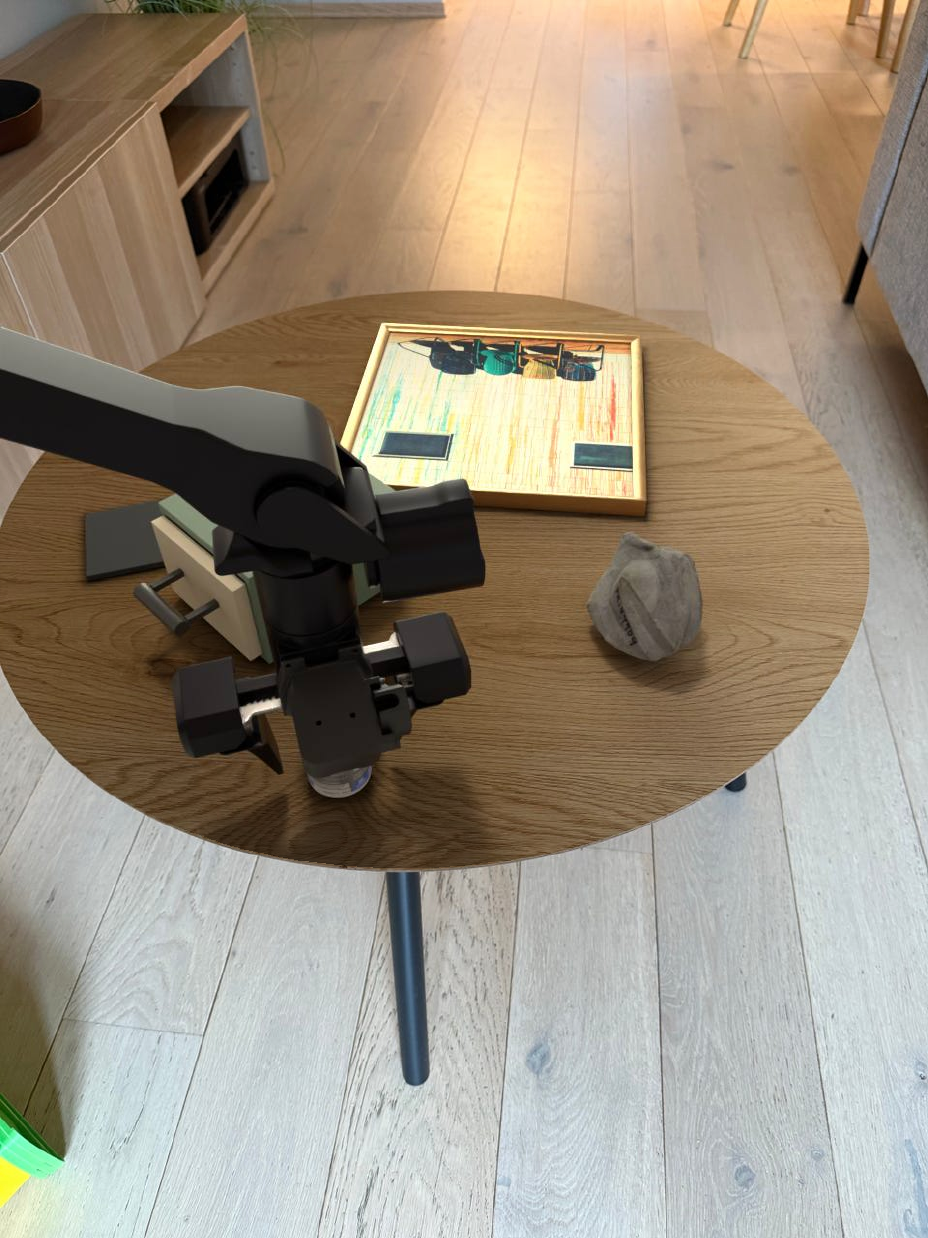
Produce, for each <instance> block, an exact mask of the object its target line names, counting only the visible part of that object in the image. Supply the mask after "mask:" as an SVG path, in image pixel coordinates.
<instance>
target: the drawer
mask: <svg viewBox="0 0 928 1238" xmlns="http://www.w3.org/2000/svg"><path fill="white" fill-rule="evenodd" d="M151 524H152V527H153V530H154V533H155V536H156V539H157V542H158V545H159V548H160V551H161V554H162V557H163V560H164V563H165V566H164V567H165V569H166V573H167V574H166V575H165V576H162V577H160V578H159V579H157V580H155V581H153V582H152V583H150V584H148V583H147V582H141V583H138V584H137V585H136V586H135V587H134V588H133V591H132V595H133V596H134V598H136V599H137V601H139V602H140V603H141V604H142V606H144V607H145V608H146V609H147V610H148V611H149V612H150V613H151V614H152V615H153V616H154V617H155V618H157V619H158V621H159V622H161V623H162V624H163V625H164V626H165V627H166V628H167V629H168V630H169V631H170V632H171V633H172V634H173V635H174V636H175V637H183V636H185V635H187V634H188V632H189V631H190V630H191V625H192V624H195V623H196V622H198V621H199V620H201V619H204V620H205V621H206V622H207V623H208V624H209V625H210V626H211V627H212V628H213V629H215V630H216V631H217V632H218V634H220V635H221V636H223V638H225V639H226V641H228V642H229V643H230V644H231V645H232V646H234V647H235V649H237V651H239V652H240V653H241V654H242V655H243V656H245V658H246V659H248V660H249V661H250V662H252V661H253V660H255V659H256V658H258V657H259V656H260V655H261V654H262V649H261V645H260V641H259V637H258V633H257V629H256V624H255V620H254V616H253V612H252V608H251V604H250V600H249V596H248V592H247V588H246V584H245V581H244V580H243V579H242V578H241V577H239V576H238V575H237V574H232V575H226V576H219V575H217V574H216V573H215V571H214V557H213V554H212V553H211V552H210V551H208V550H207V549H206V548H205V547H204V546H202V545H201V544H200V543H199V542H198V541H196V540H195V539H194V538H193V537H192V536H190V535H189V536H190V537H189V536H188V535H187V534H185V533H184V532H183V531H182V530H181V529H179V528H178V527H177V526H176V525H175V524H174V523H172V522H171V521H170V520H169V519H168V518H166V517H165V516H164V515H163V516H161V517H159V518H157V519H155V520H153V521H151ZM170 585H171V588H172V591H173V592H174V593H175V594H176V595H177V596H178V597H179V598H181V599H182V601H184V602H185V603H186V604H187V605H188V606H189V607H190V608H191V609H192V611H191V612H189V613H187V614H186V615H184V616H183V615H182V614H180V613H179V612H178V610H176V608H174V607H173V606H172V605H171V604H170V603H169V602H168V601H167V600H165V598H163V597H162V596H161V595H160V594H159V593H158V592H159V591H162V590H163V589H164V588H165V589H166V588H167V587H168V586H170Z"/></svg>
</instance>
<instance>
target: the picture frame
mask: <svg viewBox="0 0 928 1238" xmlns="http://www.w3.org/2000/svg"><path fill="white" fill-rule="evenodd" d="M642 339H643V338H642V335H641V334H623V333H622V334H621V333H600V332H581V331H580V332H579V331H558V330H539V329H538V330H537V329H515V328H498V327H497V328H496V327H495V328H494V327H477V326H476V327H475V326H472V327H471V326H451V325H433V324H431V325H429V324H413V323H412V324H411V323H391V322H389V323H388V322H381V324H380V327H379V330H378V333H377V337H376V339H375V342H374V345H373V348H372V351H371V353H370V356H369V359H368V361H367V365H366V368H365V371H364V374H363V376H362V379H361V383H360V385H359V389H358V391H357V395H356V396H355V400H354V403H353V406H352V408H351V411H350V414H349V417H348V420H347V422H346V426H345V429H344V431H343V435H342V437H341V440H340V442H339V443H340V444H341V445H342V446H343V447H344V448H345V449H347V450H348V451H349V452H350V453H351V454H353V455H354V456H355V457H356V458H357V459H358V460H360V461H361V462H362V463H363V464H364V465H366V466H367V469H368V473H370V474H371V475H373V476H374V477H376V478H377V479H379V480H380V481H382V482H383V483H385V484H386V485H388V486H389V487H391V488H392V489H394V490H395V491H401V490H408V489H414V488H421V487H427V486H432V485H435V484H438V483H441V482H444V481H449V480H455V479H462V478H463V479H465V480H466V481H467V483H468V486H469V488H470V491H471V494H472V496H473V499H474V507H475V506H476V507H491V508H505V509H522V510H536V511H537V510H539V511H553V512H568V513H584V514H601V515H617V516H630V517H631V516H633V517H645V514H646V507H647V503H648V502H647V501H648V499H647V472H646V471H647V468H646V467H647V466H646V441H645V440H646V439H645V437H646V436H645V433H646V432H645V408H644V407H645V403H644V401H645V400H644V375H643V371H644V370H643V343H642Z"/></svg>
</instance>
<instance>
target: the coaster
mask: <svg viewBox="0 0 928 1238" xmlns="http://www.w3.org/2000/svg"><path fill="white" fill-rule="evenodd" d="M162 500H163V499H159V500H153V501H148V502H143V503H138V504H133V505H127V506H121V507H117V508H111V509H106V510H100V511H93V512H89V513H88V512H87V513H85V514H84V527H85V528H84V529H85V530H84V531H85V532H84V534H85V571H86V572H85V576H86V579H87V581H88V582H90V581H95V580H100V579H107V578H111V577H115V576H116V577H117V576H120V575H121V576H122V575H126V574H127V575H128V574H131V573H136V572H142V571H147V570H152V569H156V568H162V567H166V566H165V563H164V560H163V557H162V554H161V551H160V548H159V545H158V542H157V539H156V536H155V533H154V530H153V527H152V524H151V521H153V520H155V519H157V518H159V517H161V516H162V515H161V512H160V508H159V505H158V502H160V501H162Z"/></svg>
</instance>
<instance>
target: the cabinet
mask: <svg viewBox="0 0 928 1238" xmlns="http://www.w3.org/2000/svg"><path fill="white" fill-rule="evenodd" d="M369 476H370V480H371V484H372V488H373V492H374V496H375V494H381V493H388V492H394V491H395V490H394V489H392V488H391V487H389V486H388V485H386V484H385V483H383V482H382V481H380V480H379V479H377V478H376V477H374V476H373V475H371V474H370V473H369ZM161 500H162V501H160V502H158V505H159V508H160V512H161V515H162V516H163V515H164V516H165V517H166V518H168V519H169V520H170V521H171V522H172V523H174V524H175V525H176V526H177V527H178V528H179V529H181V530H182V531H183V532H184V533H185V534H187V535H188V536H189V535H190V536H192V537H193V538H194V539H195V540H196V541H198V542H199V543H200V544H201V545H202V546H204V547H205V548H206V549H207V550H208V551H210V552H211V553H212V554H213V542H212V531H213V529H214V528H216V527H217V526H218V525H217V524H214V523H212V522H211V521H209V520H208V519H207V518H206V517H204V516H203V515H202V514H201V513H199V512H198V511H197V510H196V509H194V508H193V507H192V506H191V505H190V504H188V503H187V502H186V501H185V500H183V499H182V498H181V497H180V496H178V495H177V494H176V493H174V494H172V495H170V496H168V497H166V498H164V499H161ZM190 536H189V537H190ZM353 572H354V580H355V587H356V595H357V602H358V607H359V606H361V605H362V604H363V603H365V602H367V601H368V600H370V599H371V598H373V597H375V595H377V594H379V593H380V585H378V587H373V588H369V587H368V584H367V580H366V575H365V571H364V565H363V563H359V564H353ZM237 575H238V576H239V577H241V578H242V579H243V580H244V581H245V584H246V588H247V592H248V596H249V600H250V604H251V608H252V612H253V616H254V620H255V624H256V629H257V633H258V637H259V641H260V645H261V649H262V654H261V655H259V656H260V657H261V658H262V659H263V660H264V661H265V662H266V663H268V664H269V665H270V664H272V663H274V662H273V658H272V654H271V649H270V645H269V641H268V637H267V633H266V628H265V624H264V620H263V616H262V611H261V607H260V602H259V598H258V594H257V590H256V586H255V581H254V577H253V573H252V571H251V572H245V573H239V574H237Z"/></svg>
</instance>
